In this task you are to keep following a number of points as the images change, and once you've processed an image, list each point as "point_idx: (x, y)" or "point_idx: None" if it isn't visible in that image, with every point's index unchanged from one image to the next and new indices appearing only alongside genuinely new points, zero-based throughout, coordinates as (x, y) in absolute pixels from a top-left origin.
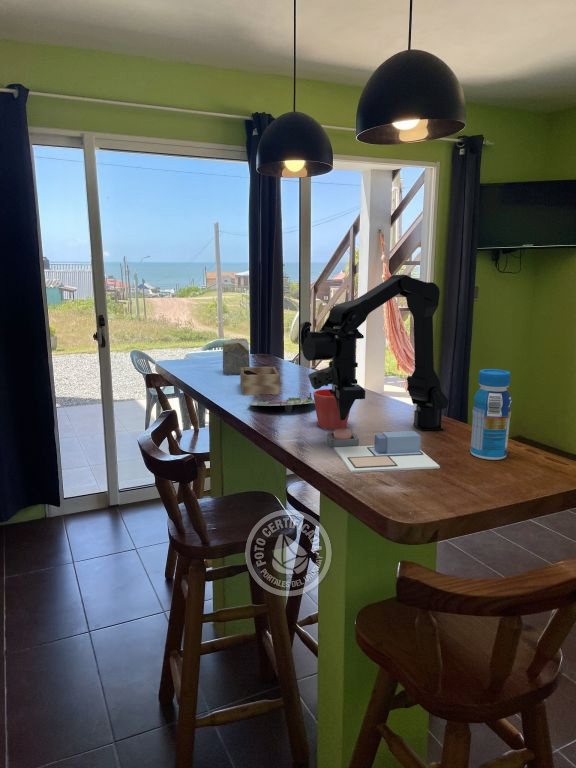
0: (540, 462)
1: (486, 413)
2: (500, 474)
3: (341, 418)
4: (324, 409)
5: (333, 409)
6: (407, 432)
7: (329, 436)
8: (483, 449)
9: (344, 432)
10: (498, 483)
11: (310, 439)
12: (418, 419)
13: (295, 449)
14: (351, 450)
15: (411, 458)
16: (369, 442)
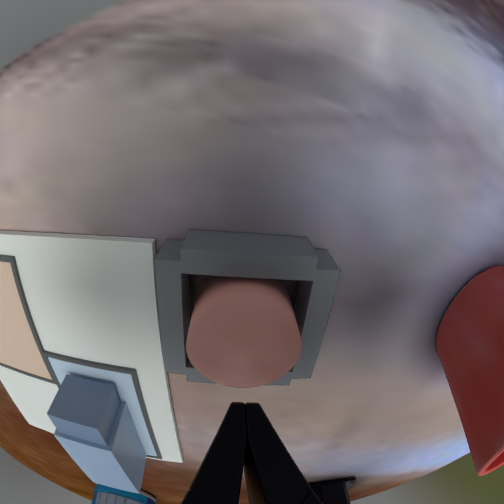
0: None
1: None
2: (38, 455)
3: (225, 415)
4: None
5: (490, 375)
6: (122, 483)
7: (251, 257)
8: (96, 494)
9: (209, 351)
10: (3, 432)
11: (368, 157)
12: (322, 501)
13: (197, 20)
14: (100, 305)
15: None
16: (237, 396)
